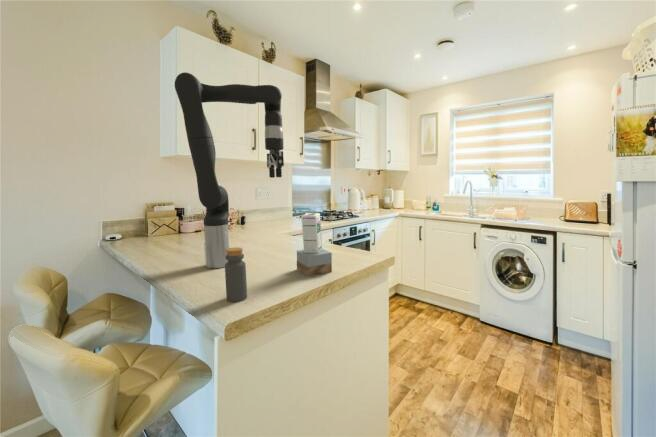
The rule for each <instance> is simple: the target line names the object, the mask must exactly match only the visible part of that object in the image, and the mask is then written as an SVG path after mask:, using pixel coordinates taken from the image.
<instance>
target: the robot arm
mask: <svg viewBox="0 0 656 437" xmlns="http://www.w3.org/2000/svg"><path fill="white" fill-rule="evenodd" d="M174 90H175V92H176V95H177V98H178V101H179V105H180V108H181V110H182V114H183V119H184V121H183V122H184V126H185V132H186V137H187V144H188V147H189V150H190V152H189V153H190V155H191V160H192V164H193V168H194V171H195V172H194V173H195V175H196V182H197V192H198V199H199V203H201V205H202V206H203V207H205V210H206V212H205V215H204V218H203V230H204V231H203V233H204V235H203V236H204V243H203V244H204V259H205V260H204V261H205V267H206V268H207V269H221V268H222V269H223V268H225V264H226V263H227V262H228V260H226V255H227V252H226V249H229V248H230V239H229V220H228V219H229V216H230V215H229V214H230V210H229V205H230V204H229V193H228V191H227V189H226V188H224V187H223V186H222V185H219V184H218V179H217V175H216V147H215V142H214V137H213V133H212V130H211V128H210V125H209V122H208V120H207V117H206V115H205V112H204V108H203V107H204V106H203V103H235V104H244V105H256V104H257V103H260V104H261V103H262V104H264V144H265V145H264V147H265V148H264V149H265V150H266V151H269V153H266V168H268V172H269V174H268V175H269V178H270V179H271V178H282V177H283V174H282V170H283V169H282V168H283V167H284V166H285V165H284V163H285V162H284V161H285V160H284V131H283V116H282V96H283V95H282V92H281V89H280V88H279V87H278V86H275V85H272V84H262V85H252V84H251V85H250V84H238V83H237V84H236V83H233V84H232V83H231V84H225V85H211V84H206V83H202V82H200V80H199V79H198V78H197V77H196V76H195V75H193V74H192V73H190V72H187V71H186V72H181V73H179V74H178V75H177V76H176V78H175V79H174Z"/></svg>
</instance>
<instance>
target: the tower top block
mask: <svg viewBox="0 0 656 437" xmlns="http://www.w3.org/2000/svg"><path fill="white" fill-rule="evenodd" d="M332 253H333V252H330V251H329V250H326V249H323V248H322V249H321V250H320V251H319V252H318V253H304V249H299V250H296V262H297V261H299V262H300V263H302V264H304V265H305V266H307V267H310V266H317V265H323V264H329V263H332V258H333V254H332Z"/></svg>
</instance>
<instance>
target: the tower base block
mask: <svg viewBox="0 0 656 437" xmlns="http://www.w3.org/2000/svg"><path fill="white" fill-rule="evenodd" d="M332 268H333V266H332V263H329V264H323V265H317V266H310V267H307V266H305V265H304V264H302V263H300V262H299V261H297V260H296V270H297V271H299V272H300V273H301V274H304V276H307V277H312V276H313V277H314V276H317V275H324V274H329V273H332V272H333V269H332Z"/></svg>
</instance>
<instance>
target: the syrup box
mask: <svg viewBox="0 0 656 437" xmlns="http://www.w3.org/2000/svg"><path fill="white" fill-rule="evenodd" d="M301 227H302V229H301V230H302V242H303V243H302V244H303V250H304V253H318V252H319V251H320V250H321V249H323V244H322V226H321V213H320V212H306V213H305V214H303V215H301Z"/></svg>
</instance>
